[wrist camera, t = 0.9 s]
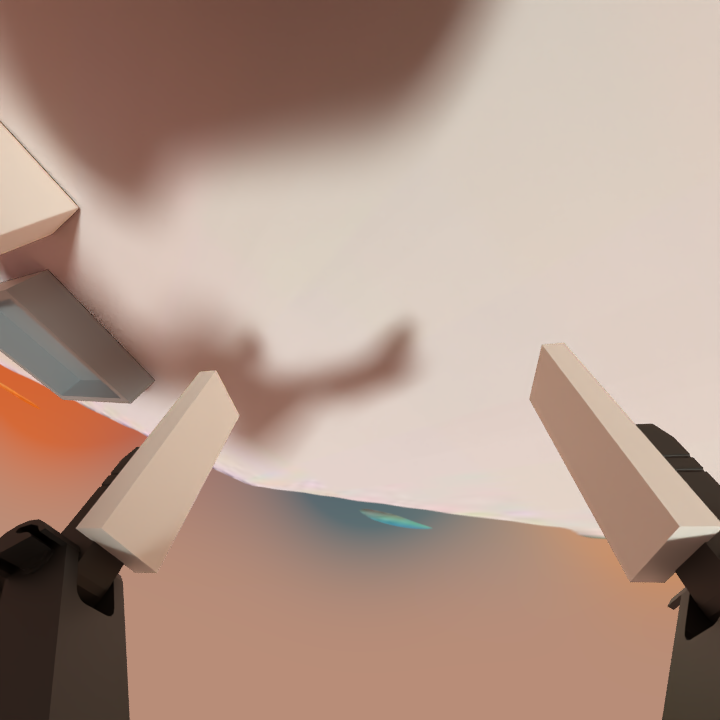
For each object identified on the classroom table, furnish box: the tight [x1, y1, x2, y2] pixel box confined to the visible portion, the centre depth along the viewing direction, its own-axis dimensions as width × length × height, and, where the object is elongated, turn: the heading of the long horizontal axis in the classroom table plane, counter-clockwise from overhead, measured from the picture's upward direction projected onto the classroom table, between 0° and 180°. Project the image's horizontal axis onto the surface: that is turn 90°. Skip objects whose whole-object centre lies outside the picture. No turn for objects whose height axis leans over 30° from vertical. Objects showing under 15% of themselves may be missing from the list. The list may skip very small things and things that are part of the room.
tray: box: [0, 270, 155, 403], centre depth 43 cm, size 18×18×4 cm
